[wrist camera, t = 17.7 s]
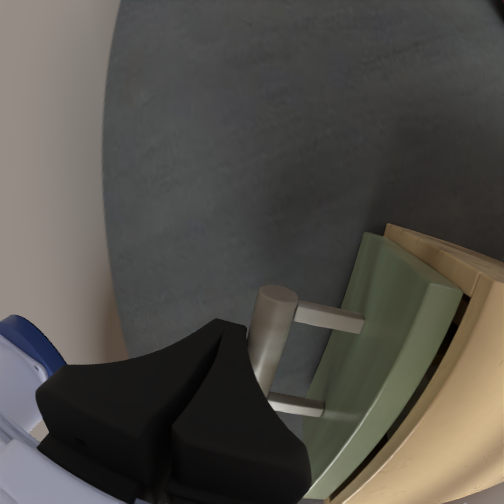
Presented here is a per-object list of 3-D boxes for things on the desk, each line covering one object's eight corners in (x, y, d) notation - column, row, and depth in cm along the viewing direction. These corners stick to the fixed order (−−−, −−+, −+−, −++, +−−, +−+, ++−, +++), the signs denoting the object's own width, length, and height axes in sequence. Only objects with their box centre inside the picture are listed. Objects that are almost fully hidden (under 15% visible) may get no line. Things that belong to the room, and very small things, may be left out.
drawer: (236, 388, 15) (208, 482, 8) (278, 210, 12) (264, 242, 6) (458, 410, 14) (489, 473, 7) (524, 281, 11) (590, 325, 4)
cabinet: (319, 402, 15) (323, 518, 7) (386, 222, 12) (495, 280, 4) (468, 407, 14) (506, 480, 6) (535, 275, 11) (611, 323, 3)
